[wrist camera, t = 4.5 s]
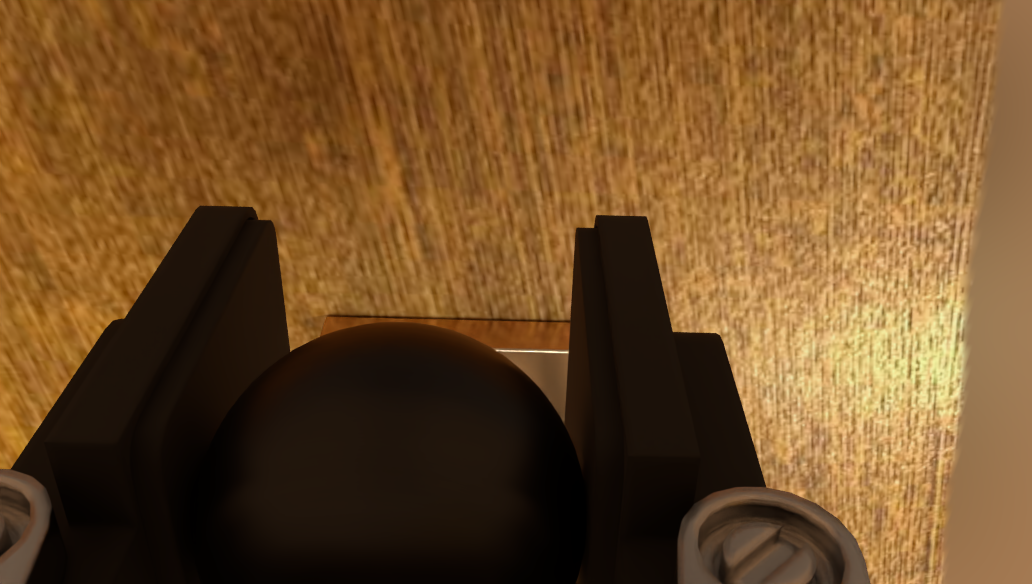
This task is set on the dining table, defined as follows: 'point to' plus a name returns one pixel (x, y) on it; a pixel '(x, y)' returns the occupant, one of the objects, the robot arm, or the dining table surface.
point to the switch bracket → (505, 346)
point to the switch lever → (391, 469)
